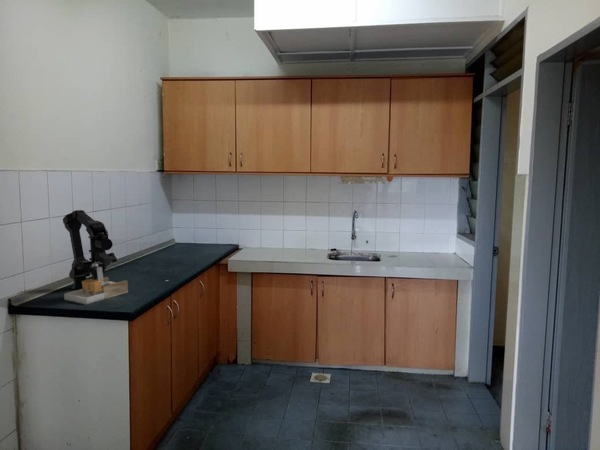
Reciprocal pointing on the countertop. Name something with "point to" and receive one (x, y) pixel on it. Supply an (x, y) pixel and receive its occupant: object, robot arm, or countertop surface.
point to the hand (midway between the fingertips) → (98, 278)
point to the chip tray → (82, 297)
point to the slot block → (111, 289)
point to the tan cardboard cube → (95, 286)
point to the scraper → (100, 276)
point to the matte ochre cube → (86, 284)
